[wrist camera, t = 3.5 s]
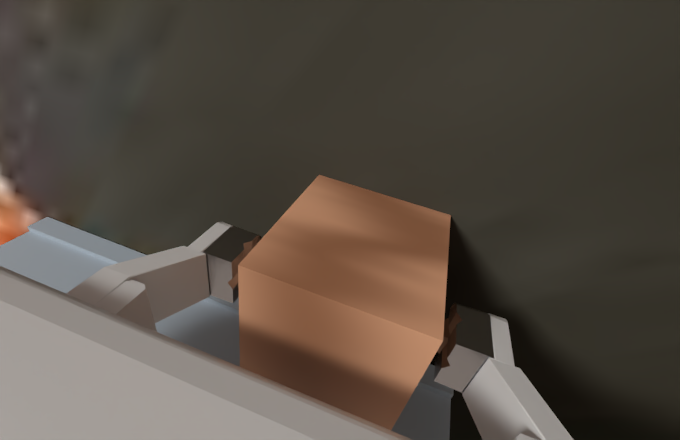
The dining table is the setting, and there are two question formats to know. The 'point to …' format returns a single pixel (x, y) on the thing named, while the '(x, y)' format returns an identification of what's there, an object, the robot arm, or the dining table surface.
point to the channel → (187, 312)
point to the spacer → (346, 298)
